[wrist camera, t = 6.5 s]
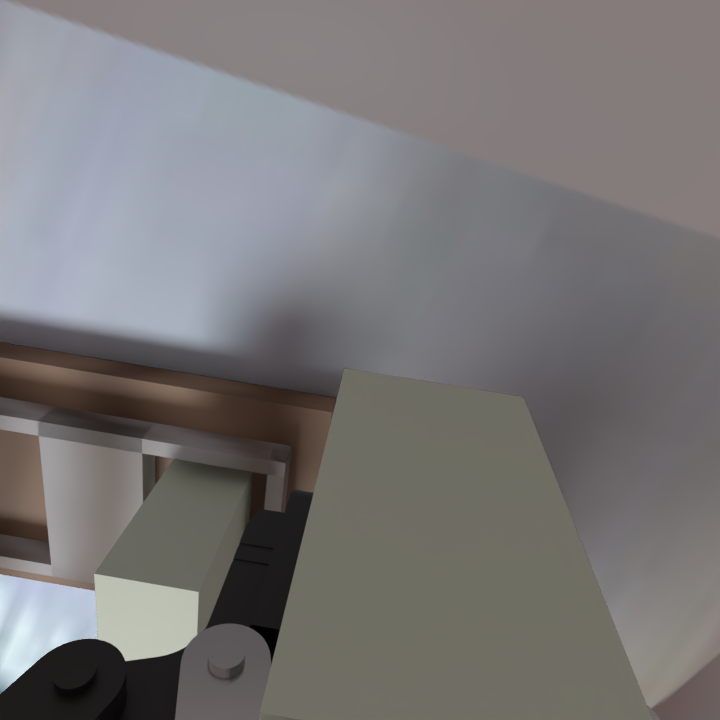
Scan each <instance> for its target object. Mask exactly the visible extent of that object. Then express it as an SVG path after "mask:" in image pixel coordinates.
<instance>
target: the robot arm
mask: <svg viewBox="0 0 720 720" xmlns="http://www.w3.org/2000/svg"><path fill="white" fill-rule="evenodd" d="M312 498H313V492H307V491H301V490H295V489H292V490H291V493H290V496H289V499H288V503H287V506H286V509H285V513H283V512H277V511H271V510H265V509H262V510H261V511H260V512H259V513H258V514H257V515H256V516H255V517H254V518H253V519H252V520H250V521H249V522H248V523H247V524H246V527H245V530H244V532H243V535H242V537H241V540H240V543H239V547H238V548H237V550H236V553H235V555H234V558H233V562H232V563H231V566H230V568H229V571H228V573H227V576H226V579H225V581H224V584H223V586H222V589H221V591H220V594H219V597H218V599H217V602H216V604H215V607H214V609H213V612H212V615H211V617H210V620H209V622H208V624H207V626H206V628H205V629H204V631H202V632H200V633H199V634H198V635H196V636H195V637H194V638H193V639H192V640H191V641H190V642H189V644H188V645H187V646H186V647H185V648H183V649H181V650H179V651H177V652H174V653H171V654H168V655H164V656H159V657H153V658H145V659H138V660H130V661H125V659H124V657H123V655H122V653H121V652H120V651H119V650H118V648H117V647H115V646H114V645H112V644H111V643H108V642H106V641H102V640H98V639H81V640H76V641H72V642H69V643H66V644H63V645H61V646H59V647H57V648H55V649H53V650H52V651H50V652H48V653H47V654H46V655H44V656H43V657H42V658H41V659H40V660H38V661H37V662H36V663H35V664H34V665H33V666H32V667H31V668H29V669H28V670H27V671H26V672H25V673H24V674H23V675H21V676H20V677H19V678H18V679H17V680H16V681H15V682H14V683H12V684H11V685H10V686H9V687H8V688H7V689H6V690H5V691H3V692H2V693H1V694H0V720H259V714H260V709H261V705H262V701H263V697H264V693H265V689H266V685H267V681H268V676H269V672H270V668H271V664H272V660H273V656H274V652H275V648H276V644H277V640H278V636H279V632H280V628H281V624H282V620H283V615H284V611H285V607H286V603H287V599H288V595H289V591H290V587H291V583H292V579H293V575H294V571H295V567H296V563H297V559H298V554H299V550H300V546H301V542H302V538H303V534H304V530H305V526H306V522H307V518H308V514H309V510H310V506H311V502H312ZM647 707H648V706H647ZM648 709H649V712H650V714H651V717H652V719H653V720H660V719H659V718H658V716H657V715H656V714H655V713H654V712H653V711H652V709H651V708H649V707H648Z"/></svg>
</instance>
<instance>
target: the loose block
mask: <svg viewBox="0 0 720 720" xmlns="http://www.w3.org/2000/svg"><path fill="white" fill-rule="evenodd" d="M259 720H653V719H652V717H651V714H650V712H649V709H648V707H647V704H646V702H645V699H644V697H643V695H642V692H641V690H640V687H639V685H638V682H637V680H636V677H635V675H634V672H633V670H632V667H631V665H630V662H629V660H628V657H627V655H626V652H625V650H624V647H623V645H622V642H621V640H620V637H619V635H618V632H617V630H616V627H615V625H614V622H613V620H612V617H611V615H610V612H609V610H608V607H607V605H606V602H605V600H604V597H603V595H602V592H601V590H600V587H599V585H598V582H597V580H596V577H595V575H594V572H593V570H592V567H591V565H590V562H589V560H588V557H587V555H586V552H585V550H584V547H583V545H582V542H581V540H580V537H579V535H578V532H577V530H576V527H575V525H574V522H573V520H572V517H571V515H570V512H569V510H568V507H567V505H566V502H565V500H564V497H563V495H562V492H561V490H560V487H559V485H558V482H557V480H556V477H555V475H554V472H553V470H552V467H551V465H550V462H549V460H548V457H547V455H546V452H545V450H544V447H543V445H542V442H541V440H540V437H539V435H538V432H537V430H536V427H535V425H534V422H533V420H532V417H531V415H530V412H529V410H528V407H527V405H526V402H525V400H524V397H521V396H514V395H508V394H502V393H496V392H490V391H483V390H477V389H471V388H465V387H459V386H452V385H446V384H440V383H434V382H428V381H421V380H415V379H409V378H403V377H396V376H390V375H384V374H378V373H372V372H365V371H359V370H353V369H347V368H344V371H343V376H342V380H341V384H340V388H339V392H338V396H337V400H336V404H335V408H334V412H333V416H332V420H331V424H330V428H329V432H328V437H327V441H326V445H325V449H324V453H323V457H322V461H321V465H320V469H319V473H318V477H317V481H316V485H315V489H314V493H313V498H312V502H311V506H310V510H309V514H308V518H307V522H306V526H305V530H304V534H303V538H302V542H301V546H300V550H299V554H298V559H297V563H296V567H295V571H294V575H293V579H292V583H291V587H290V591H289V595H288V599H287V603H286V607H285V611H284V615H283V620H282V624H281V628H280V632H279V636H278V640H277V644H276V648H275V652H274V656H273V660H272V664H271V668H270V672H269V676H268V681H267V685H266V689H265V693H264V697H263V701H262V705H261V709H260V714H259Z"/></svg>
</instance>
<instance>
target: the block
mask: <svg viewBox="0 0 720 720" xmlns="http://www.w3.org/2000/svg"><path fill="white" fill-rule="evenodd" d="M252 479H253V472H250V471H244V470H238V469H232V468H226V467H220V466H214V465H208V464H202V463H196V462H191V461H185V460H179V459H173V461H172V462H171V463H170V465H169V466H168V468H167V469H166V471H165V472H164V474H163V475H162V476H161V478H160V479H159V481H158V482H157V484H156V485H155V487H154V488H153V489H152V491H151V492H150V494H149V495H148V497H147V498H146V500H145V501H144V502H143V504H142V505H141V507H140V508H139V510H138V511H137V513H136V514H135V515H134V517H133V518H132V520H131V521H130V523H129V524H128V526H127V527H126V528H125V530H124V531H123V533H122V534H121V536H120V537H119V539H118V540H117V541H116V543H115V544H114V546H113V547H112V549H111V550H110V552H109V553H108V554H107V556H106V557H105V559H104V560H103V562H102V563H101V565H100V566H99V567H98V569H97V570H96V572H95V573H94V580H95V598H96V615H97V632H98V640H102V641H106V642H108V643H111V644H112V645H114V646H115V647H117V648H118V650H119V651H120V652H121V653H122V655H123V657H124V659H125V661H130V660H138V659H145V658H153V657H159V656H164V655H168V654H171V653H174V652H177V651H179V650H181V649H183V648H185V647H186V646H187V645H188V644H189V642H190V641H191V640H192V639H193V638H194V637H195V636H196V635H198V634H199V633H200V632H202V631H204V629H205V628H206V626H207V624H208V622H209V620H210V617H211V615H212V612H213V609H214V607H215V604H216V602H217V599H218V597H219V594H220V591H221V589H222V586H223V584H224V581H225V579H226V576H227V573H228V571H229V568H230V566H231V563H232V562H233V558H234V555H235V553H236V550H237V548H238V547H239V543H240V540H241V537H242V535H243V532H244V530H245V527H246V524H247V523H248V522H249V516H250V504H251V491H252Z"/></svg>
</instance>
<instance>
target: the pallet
mask: <svg viewBox="0 0 720 720" xmlns="http://www.w3.org/2000/svg"><path fill="white" fill-rule="evenodd" d="M335 400H336V398H333V397H327V396H321V395H315V394H308V393H302V392H296V391H290V390H284V389H278V388H272V387H266V386H260V385H254V384H248V383H242V382H236V381H230V380H224V379H218V378H212V377H206V376H200V375H194V374H188V373H182V372H176V371H170V370H164V369H158V368H152V367H146V366H140V365H134V364H128V363H122V362H116V361H109V360H103V359H97V358H91V357H85V356H79V355H73V354H67V353H61V352H55V351H49V350H43V349H37V348H31V347H25V346H19V345H13V344H7V343H1V342H0V574H3V575H9V576H14V577H20V578H26V579H31V580H37V581H43V582H49V583H54V584H60V585H66V586H71V587H77V588H83V589H89V590H94V591H95V580H94V573H95V572H96V570H97V569H98V567H99V566H100V565H101V563H102V562H103V560H104V559H105V557H106V556H107V554H108V553H109V552H110V550H111V549H112V547H113V546H114V544H115V543H116V541H117V540H118V539H119V537H120V536H121V534H122V533H123V531H124V530H125V528H126V527H127V526H128V524H129V523H130V521H131V520H132V518H133V517H134V515H135V514H136V513H137V511H138V510H139V508H140V507H141V505H142V504H143V502H144V501H145V500H146V498H147V497H148V495H149V494H150V492H151V491H152V489H153V488H154V487H155V485H156V484H157V482H158V481H159V479H160V478H161V476H162V475H163V474H164V472H165V471H166V469H167V468H168V466H169V465H170V463H171V462H172V461H173V459H179V460H185V461H191V462H196V463H202V464H208V465H214V466H220V467H226V468H232V469H238V470H244V471H250V472H253V479H252V491H251V504H250V516H249V521H250V520H252V519H253V518H254V517H255V516H256V515H257V514H258V513H259V512H260V511H261V510H262V509H265V510H271V511H277V512H283V513H285V509H286V506H287V503H288V499H289V496H290V493H291V490H292V489H295V490H301V491H307V492H313V493H314V489H315V485H316V481H317V477H318V473H319V469H320V465H321V461H322V457H323V453H324V449H325V445H326V441H327V437H328V432H329V428H330V424H331V420H332V416H333V412H334V407H335Z"/></svg>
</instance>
